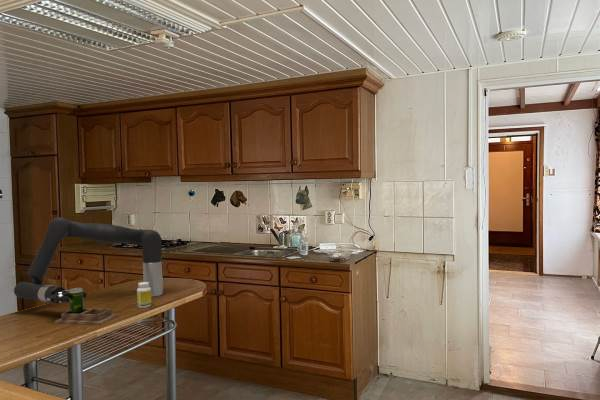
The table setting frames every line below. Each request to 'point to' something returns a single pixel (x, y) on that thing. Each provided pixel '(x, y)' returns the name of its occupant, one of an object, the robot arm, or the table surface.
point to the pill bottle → (143, 295)
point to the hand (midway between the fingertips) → (77, 297)
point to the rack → (87, 317)
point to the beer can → (76, 301)
